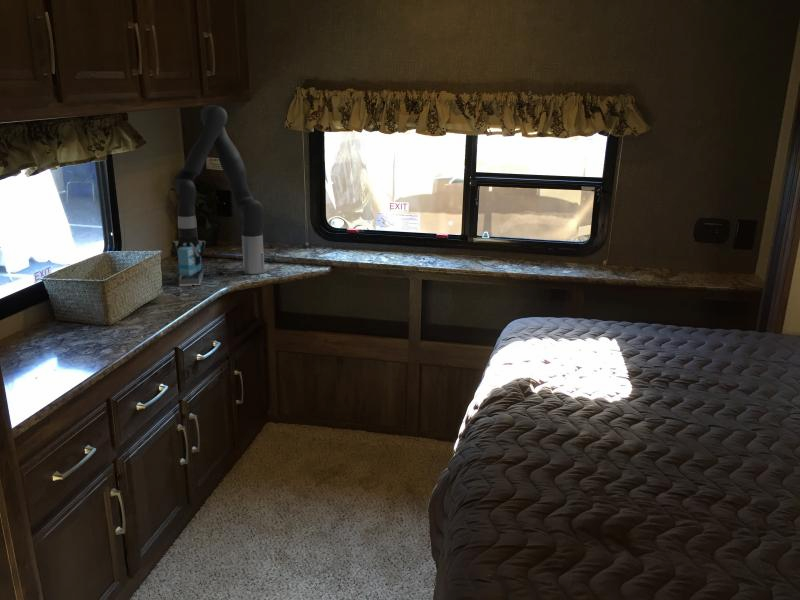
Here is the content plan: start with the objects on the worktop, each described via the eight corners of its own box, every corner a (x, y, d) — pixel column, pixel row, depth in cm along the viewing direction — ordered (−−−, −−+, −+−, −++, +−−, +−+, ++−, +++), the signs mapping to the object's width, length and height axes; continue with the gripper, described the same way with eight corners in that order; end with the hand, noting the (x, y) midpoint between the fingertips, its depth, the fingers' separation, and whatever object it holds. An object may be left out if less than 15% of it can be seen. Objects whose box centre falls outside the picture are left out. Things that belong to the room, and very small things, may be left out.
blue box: (189, 276, 287) (187, 249, 283) (179, 276, 288) (177, 248, 284) (202, 269, 298) (200, 242, 294) (192, 268, 299) (190, 242, 295)
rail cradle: (203, 275, 302) (202, 264, 301) (199, 285, 287) (198, 274, 286) (184, 275, 301) (183, 265, 299) (179, 286, 286) (178, 275, 284)
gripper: (206, 224, 291) (208, 262, 296) (171, 224, 289) (174, 262, 294) (204, 227, 284) (206, 266, 289) (168, 228, 282) (171, 267, 287)
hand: (190, 264), depth 292 cm, fingers closed on blue box, 5 cm apart
